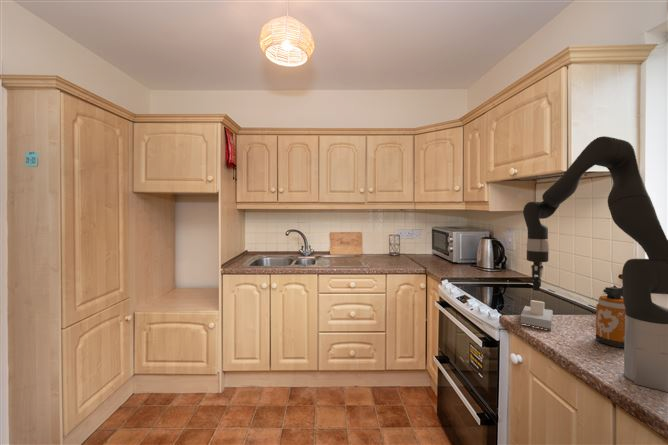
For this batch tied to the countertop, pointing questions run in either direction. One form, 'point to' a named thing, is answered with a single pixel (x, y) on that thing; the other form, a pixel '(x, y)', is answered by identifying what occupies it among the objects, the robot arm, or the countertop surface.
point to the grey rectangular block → (537, 318)
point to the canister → (611, 317)
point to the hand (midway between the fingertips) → (536, 288)
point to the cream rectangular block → (537, 307)
